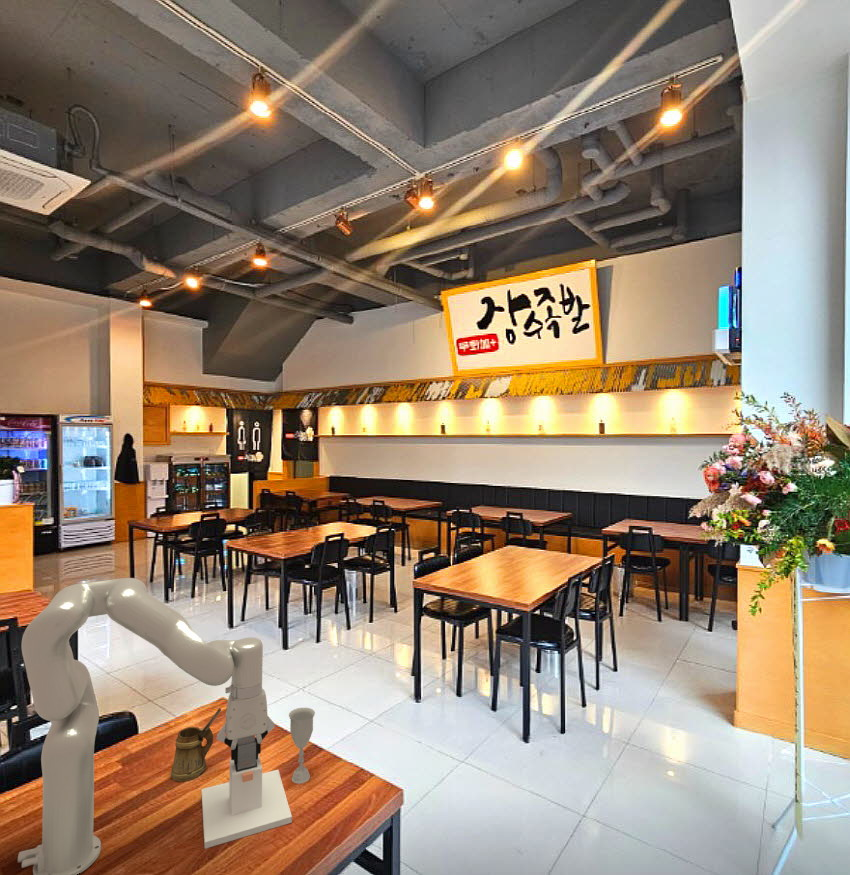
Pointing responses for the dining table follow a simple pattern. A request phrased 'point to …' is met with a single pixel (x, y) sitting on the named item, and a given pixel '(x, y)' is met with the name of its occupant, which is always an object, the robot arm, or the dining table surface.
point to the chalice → (301, 738)
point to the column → (246, 753)
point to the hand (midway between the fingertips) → (245, 758)
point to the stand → (244, 805)
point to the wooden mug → (192, 751)
